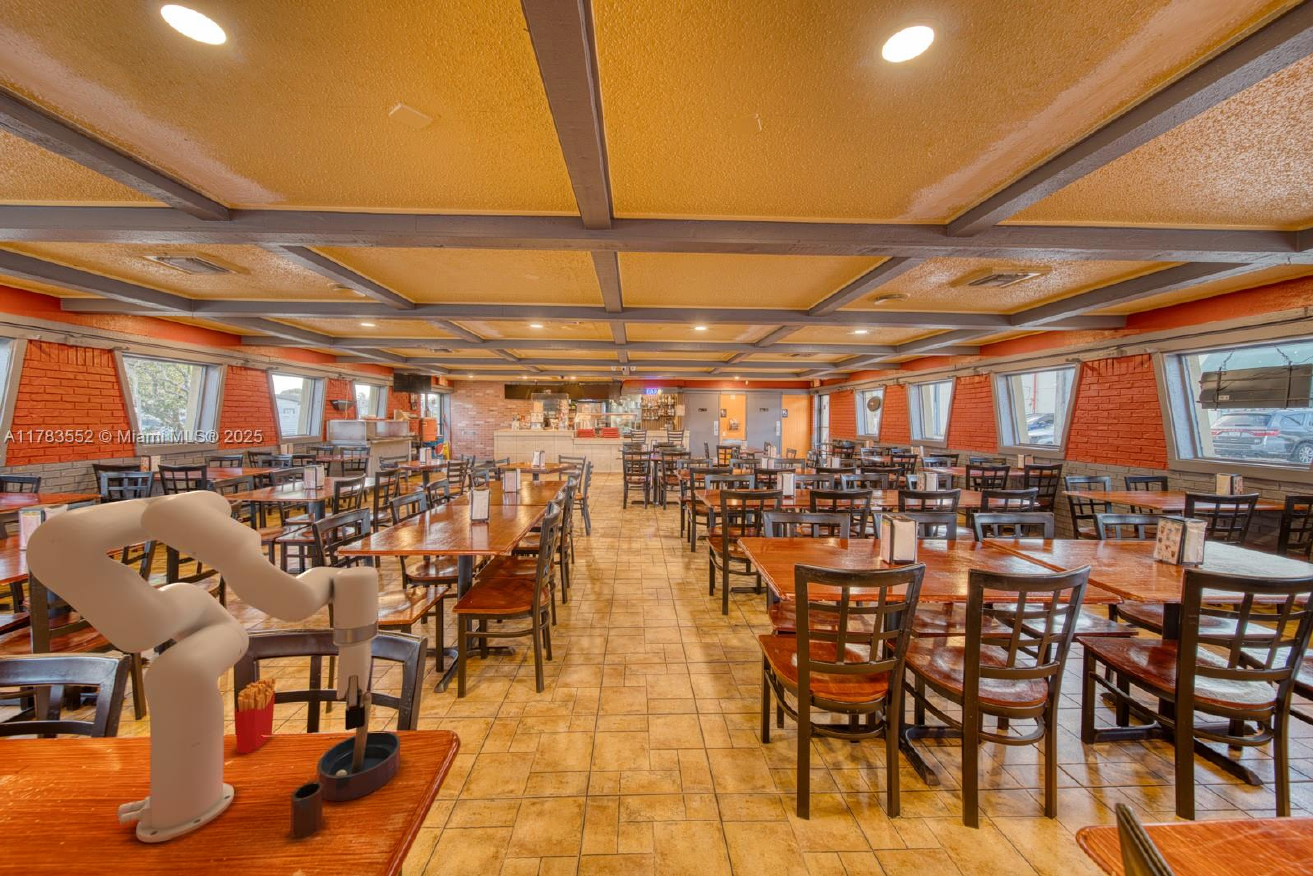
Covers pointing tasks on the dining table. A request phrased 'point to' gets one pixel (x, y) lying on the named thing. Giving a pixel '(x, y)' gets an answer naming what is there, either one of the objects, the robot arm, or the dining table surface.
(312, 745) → the dining table surface
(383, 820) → the dining table surface
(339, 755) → the bowl
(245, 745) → the french fries
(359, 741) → the stick
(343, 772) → the dough ball
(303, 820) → the holder
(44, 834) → the dining table surface
